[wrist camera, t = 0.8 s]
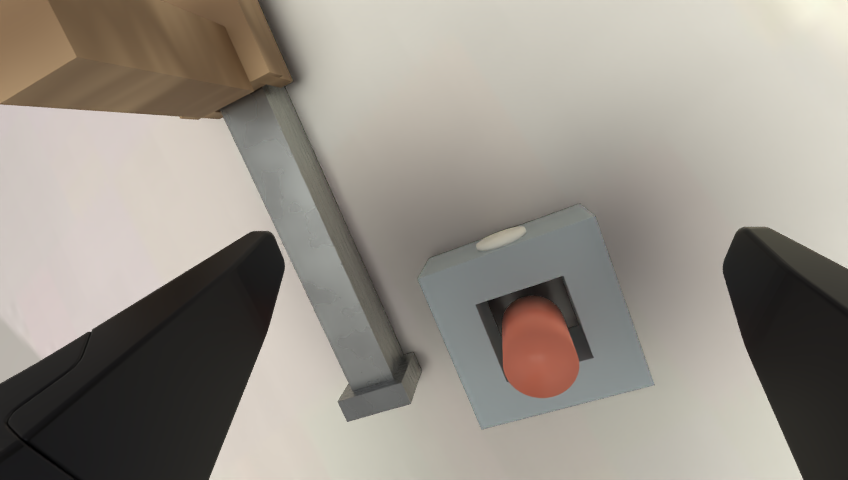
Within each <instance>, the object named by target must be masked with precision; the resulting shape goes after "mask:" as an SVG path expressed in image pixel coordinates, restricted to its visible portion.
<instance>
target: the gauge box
mask: <svg viewBox="0 0 848 480" xmlns="http://www.w3.org/2000/svg"><path fill="white" fill-rule="evenodd" d="M558 277H562V280H563V282H564V285H565V288H566V290H567V293H568V296H569V298H570V301H571V304H572V306H573V309H574V312H575V315H576V317H577V320H578V323H579V325H578V326H575V327H571V328H568V331H569V333H570V336H571V339H572V341H573V344H574V347H575V349H576V352H577V355H578V358H579V372H578V375H577V378H576V380H575V382H574V383H573V384H572V386H571V387H570V388H569V389H567V390H566V391H565V392H563V393H561V394H559V395H557V396H554V397H549V398H535V397H530V396H527V395H525V394H523V393H521V392H519V391H518V390H516V389H515V388H514V387H513V386H512V385H511V384H510V383H509V381H508V380H507V378H506V376H505V373H504V370H503V351H502V337H501V335H500V332H499V330H498V328H497V325H496V323H495V320H494V318H493V315H492V313H491V310H490V308H489V305H488V303H487V301H488V300H491V299H494V298H497V297H501V296H504V295H507V294H510V293H513V292H516V291H519V290H522V289H525V288H528V287H531V286H534V285H537V284H540V283H543V282H546V281H549V280H552V279H555V278H558ZM418 281H419V284H420V286H421V288H422V291H423V293H424V295H425V298H426V300H427V302H428V305H429V307H430V310H431V312H432V314H433V317H434V319H435V321H436V324H437V326H438V328H439V331H440V333H441V335H442V338H443V340H444V342H445V345H446V347H447V349H448V352H449V354H450V356H451V359H452V361H453V364H454V366H455V368H456V371H457V373H458V375H459V378H460V380H461V382H462V385H463V387H464V389H465V392H466V394H467V396H468V399H469V401H470V403H471V406H472V408H473V410H474V413H475V415H476V417H477V420H478V422H479V425H480V427H481V429H486V428H490V427H494V426H497V425H501V424H505V423H509V422H513V421H517V420H521V419H525V418H529V417H532V416H536V415H540V414H544V413H548V412H552V411H556V410H560V409H564V408H567V407H571V406H575V405H579V404H583V403H587V402H591V401H595V400H599V399H602V398H606V397H610V396H614V395H618V394H622V393H626V392H630V391H634V390H637V389H641V388H645V387H649V386H653V385H654V382H653V379H652V376H651V373H650V370H649V368H648V365H647V362H646V359H645V356H644V353H643V350H642V348H641V345H640V342H639V339H638V336H637V333H636V330H635V328H634V325H633V322H632V319H631V316H630V313H629V310H628V308H627V305H626V302H625V299H624V296H623V293H622V290H621V288H620V285H619V282H618V279H617V276H616V273H615V270H614V268H613V265H612V262H611V259H610V256H609V253H608V250H607V248H606V245H605V242H604V239H603V236H602V233H601V231H600V228H599V225H598V222H597V219H596V216H595V215H594V214H592V213H591V212H590V211H589V210H587V209H586V208H585V207H584V206H582V205H581V204H577V205H574V206H571V207H569V208H566V209H563V210H560V211H558V212H555V213H552V214H549V215H547V216H544V217H541V218H539V219H536V220H533V221H530V222H528V223H525V224H522V225H519V226H517V227H512V228H509V229H505V230H502V231H499V232H497V233H494V234H492V235H490V236H488V237H486V238H484V239H481V240H478V241H475V242H473V243H470V244H467V245H464V246H462V247H459V248H456V249H453V250H451V251H448V252H445V253H442V254H440V255H437V256H434V257H431V258H429V259H428V261H427V263H426V265H425V266H424V268H423V270H422V272H421V274H420V275H419V277H418Z"/></svg>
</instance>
